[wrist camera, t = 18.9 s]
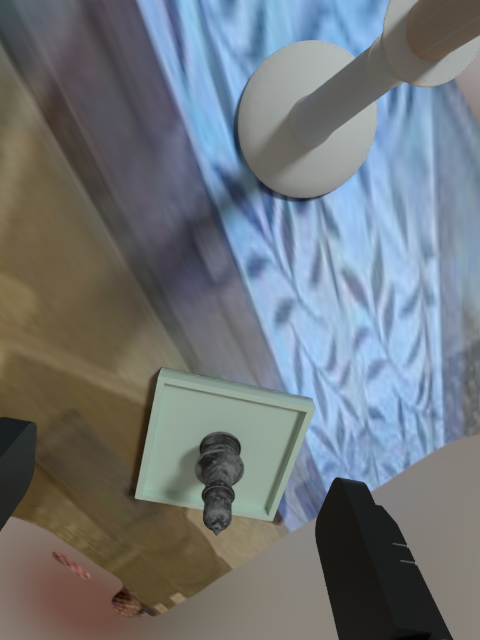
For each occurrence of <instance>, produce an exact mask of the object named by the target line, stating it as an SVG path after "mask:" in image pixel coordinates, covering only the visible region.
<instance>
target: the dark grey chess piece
mask: <svg viewBox="0 0 480 640" xmlns="http://www.w3.org/2000/svg"><path fill="white" fill-rule="evenodd" d="M240 453H241V445H240V442H239V440H238V439H237V438H236V437H235V436H234V435H232V434H230V433H227V432H213V433H211V434H208V435H207V436H206V437H204V439H203V440H202V441H201V444H200V454H201V455H200V457H199V458H198V459H197V461H196V463H195V474H196V477H197V478H198V480H199V481H200V482H201V483H203V484H204V485H205V488H204V489H203V491H202V496H201V497H202V500H203V502H204V513H203V521H204V524H205V526H206V527H207V528H208V529H210V530H212V531H213V532H214V533H215V535H218V534H219V533H220V531H222V530H225V529H226V528H227V527H228V526H229V525H230V523H231V518H232V503H233V501H234V499H235V492H234V490H233V489H232V486H233V485H235V484H236V483H237V482H239V481H240V479H241V478H242V476H243V474H244V464H243V461H242V459H241V458H240Z"/></svg>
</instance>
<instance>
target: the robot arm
mask: <svg viewBox="0 0 480 640" xmlns="http://www.w3.org/2000/svg"><path fill="white" fill-rule="evenodd" d="M36 432H37V426H36V423H34V422H30V421H25V420H19V419H14V418H8V417H1V418H0V531H1V529H2V528H3V526H4V525H5V523H6V522H7V520H8V519H9V517H10V516H11V514H12V513H13V511H14V510H15V508H16V507H17V505H18V504H19V502H20V501H21V499H22V498H23V496H24V495H25V493H26V491H27V489H28V487H29V485H30V482H31V480H32V477H33V473H34V465H35V448H36ZM315 537H316V543H317V548H318V552H319V556H320V561H321V565H322V569H323V573H324V578H325V582H326V586H327V590H328V595H329V599H330V603H331V607H332V612H333V616H334V621H335V625H336V629H337V633H338V638H339V640H453V638H452V636H451V634H450V632H449V630H448V628H447V626H446V624H445V622H444V620H443V618H442V616H441V614H440V612H439V610H438V608H437V606H436V603H435V601H434V599H433V598H432V595H431V593H430V591H429V589H428V587H427V585H426V583H425V581H424V579H423V577H422V575H421V572H420V570H419V569H418V566H417V565H415V560H414V558H413V556H412V554H411V552H410V550H409V548H407V543H406V541H405V539H404V537H403V535H402V533H401V531H400V529H399V527H398V525H397V523H396V522H395V521H394V520H393V519H392V517H391V516H390V515H389V514H388V513H387V511H386V510H385V509H384V508H383V507H382V506H380V505H375V502H374V500H373V498H372V495H371V493H370V491H369V489H368V487H367V485H366V484H365V483H364V482H360V481H355V480H350V479H344V478H339V477H337V478H335V479H334V480H333V482H332V484H331V487H330V489H329V491H328V493H327V496H326V498H325V500H324V503H323V505H322V507H321V509H320V512H319V514H318V517H317V520H316V527H315Z"/></svg>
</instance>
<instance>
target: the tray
mask: <svg viewBox="0 0 480 640" xmlns="http://www.w3.org/2000/svg"><path fill="white" fill-rule="evenodd" d="M315 408H316V407H315V405H314V402H313V399H312V398H308V397H303V396H298V395H293V394H289V393H284V392H279V391H274V390H269V389H264V388H260V387H255V386H250V385H245V384H240V383H236V382H231V381H226V380H221V379H216V378H211V377H207V376H202V375H197V374H192V373H187V372H182V371H178V370H173V369H168V368H163V367H162V368H161V370H160V373H159V376H158V381H157V386H156V391H155V396H154V401H153V406H152V412H151V417H150V422H149V427H148V432H147V437H146V443H145V448H144V453H143V458H142V463H141V468H140V474H139V479H138V484H137V489H136V494H135V499H141V500H147V501H153V502H159V503H165V504H171V505H177V506H183V507H189V508H195V509H201V510H204V502H203V500H202V497H201V496H202V491H203V489H204V488H205V485H204V484H203V483H201V482H200V481H199V480H198V478H197V477H196V474H195V463H196V461H197V459H198V458H199V457H200V455H201V454H200V444H201V441H202V440H203V439H204V437H206V436H207V435H208V434H211V433H213V432H227V433H230V434H232V435H234V436H235V437H236V438H237V439H238V440H239V442H240V445H241V453H240V458H241V459H242V461H243V464H244V474H243V476H242V478H241V479H240V481H239V482H237V483H236V484H235V485H233V486H232V489H233V490H234V492H235V499H234V501H233V503H232V515H237V516H243V517H249V518H255V519H261V520H267V521H273V519H274V516H275V513H276V511H277V508H278V505H279V503H280V500H281V498H282V495H283V492H284V490H285V487H286V484H287V482H288V479H289V477H290V474H291V471H292V469H293V466H294V463H295V461H296V458H297V456H298V453H299V450H300V448H301V445H302V442H303V440H304V437H305V435H306V432H307V429H308V427H309V424H310V421H311V419H312V416H313V414H314V411H315Z"/></svg>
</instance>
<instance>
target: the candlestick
mask: <svg viewBox="0 0 480 640" xmlns="http://www.w3.org/2000/svg"><path fill="white" fill-rule="evenodd" d="M479 50H480V0H390V3H389V5H388V7H387V11H386V14H385V18H384V25H383V32H382V35H381V36H379V37H378V38H377V39H376V40H375V41H374V42H373V44H372V45H371V46H370V47H369V48H368V49H367V50H365V51H364V52H363V53H361V54H360V55H359V56H358V57H356V58H355V57H353V56H352V55H351V54H350V53H349V52H347V51H346V50H344V49H343V48H341V47H339V46H337V45H334V44H332V43H328V42H324V41H317V40H308V41H300V42H296V43H293V44H290V45H287V46H285V47H283V48H281V49H279V50H277V51H276V52H274V53H273V54H272V55H270V56H269V57H268V58H267V59H266V60H265V61H263V62H262V64H261V65H260V66H259V67H258V68H257V69H256V71H255V72H254V74H253V75H252V77H251V78H250V80H249V82H248V84H247V86H246V88H245V90H244V93H243V96H242V99H241V103H240V107H239V114H238V136H239V142H240V146H241V150H242V153H243V155H244V158H245V160H246V162H247V164H248V166H249V167H250V169H251V170H252V172H253V173H254V174H255V176H256V177H257V178H258V179H259V180H260V181H261V182H262V183H263V184H265V185H266V186H267V187H269V188H270V189H272V190H274V191H276V192H278V193H280V194H283V195H286V196H290V197H295V198H311V197H317V196H321V195H324V194H326V193H329V192H331V191H333V190H335V189H337V188H338V187H340V186H341V185H343V184H344V183H345V182H346V181H348V180H349V179H350V178H351V177H352V176H353V175H354V174H355V173H356V171H357V170H358V169H359V168H360V166H361V165H362V163H363V162H364V160H365V159H366V157H367V155H368V153H369V151H370V148H371V146H372V143H373V140H374V136H375V132H376V126H377V102H376V100H377V99H378V98H380V97H381V96H382V95H384V94H385V93H386V92H388V91H389V90H390V89H392V88H395V87H397V86H399V85H400V84H402V83H403V82H408V83H409V84H412V85H415V86H418V87H434V86H438V85H442V84H444V83H446V82H449V81H450V80H452V79H454V78H455V77H457V76H458V75H459V74H460V73H462V72H463V71H464V70H465V68H467V67H468V66H469V65H470V63H471V62H472V60H473V59H474V58H475V56H476V55H477V53H478V51H479Z"/></svg>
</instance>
